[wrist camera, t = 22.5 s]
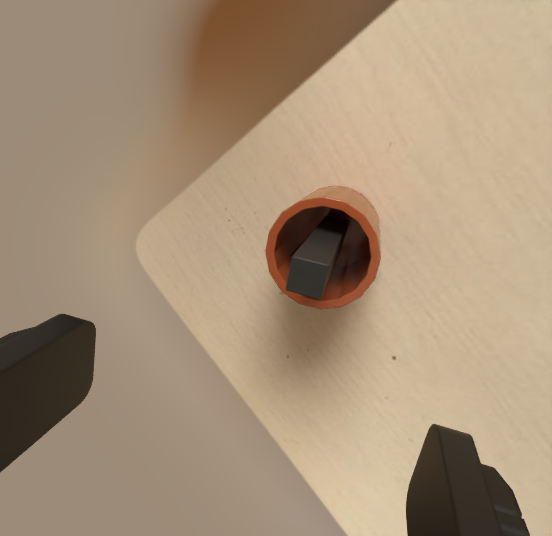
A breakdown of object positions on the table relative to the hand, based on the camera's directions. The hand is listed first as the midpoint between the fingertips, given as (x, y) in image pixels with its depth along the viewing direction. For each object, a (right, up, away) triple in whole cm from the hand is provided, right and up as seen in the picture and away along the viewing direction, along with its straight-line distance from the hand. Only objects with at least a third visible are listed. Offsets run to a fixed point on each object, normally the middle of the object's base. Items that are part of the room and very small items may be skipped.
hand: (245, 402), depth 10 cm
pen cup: (+5, +6, +21) cm, 23 cm away
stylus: (+5, +6, +20) cm, 22 cm away
